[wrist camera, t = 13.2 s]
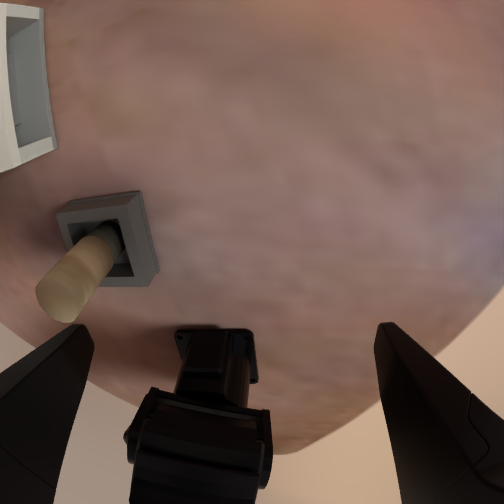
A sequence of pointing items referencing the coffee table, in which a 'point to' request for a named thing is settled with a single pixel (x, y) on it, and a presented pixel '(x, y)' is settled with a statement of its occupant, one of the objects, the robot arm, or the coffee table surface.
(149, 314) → the coffee table surface
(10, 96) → the breaker box
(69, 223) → the holder
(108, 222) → the beige rounded rod
